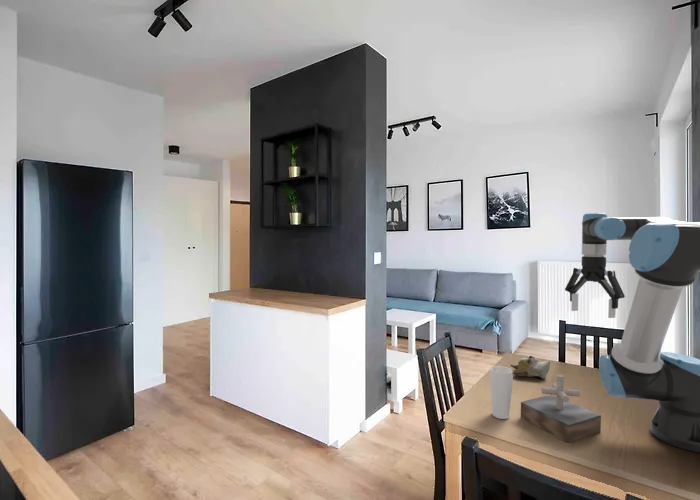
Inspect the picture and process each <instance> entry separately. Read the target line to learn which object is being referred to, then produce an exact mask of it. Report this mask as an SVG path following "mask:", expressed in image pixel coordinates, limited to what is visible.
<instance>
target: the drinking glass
mask: <svg viewBox="0 0 700 500" xmlns="http://www.w3.org/2000/svg"><path fill="white" fill-rule="evenodd" d="M513 371H514V370H512V369H511V368H510V367H506V366H502V365H494V366H493V365H492V366H490V368H489V390H490V404H491V415H492V416H493V417H494V418H496V419H500V420H507V419H509V418H510V417H511V415H510V414H511V403H512V395H513V394H512V392H513V382H514V374H513Z"/></svg>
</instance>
